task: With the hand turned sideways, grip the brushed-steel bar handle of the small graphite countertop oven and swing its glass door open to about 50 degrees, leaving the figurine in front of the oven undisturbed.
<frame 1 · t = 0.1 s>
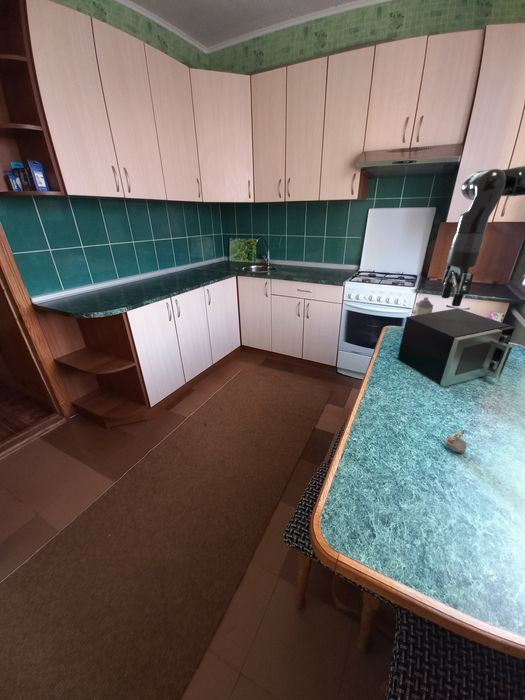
hand: (450, 301, 93), 28 cm above the table, tool pointing down, fingers open, 8 cm apart
oven: (442, 364, 113), on the table
candy bar box: (481, 353, 120), on the table
figurine: (453, 448, 75), on the table
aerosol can: (415, 340, 133), on the table
oven door: (479, 361, 96), point 9 cm above the table, hinge at 0.0°
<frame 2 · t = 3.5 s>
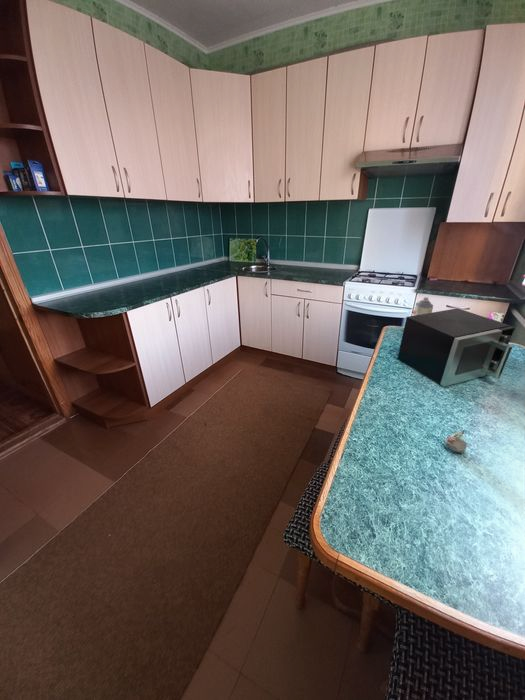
nothing on the table moved.
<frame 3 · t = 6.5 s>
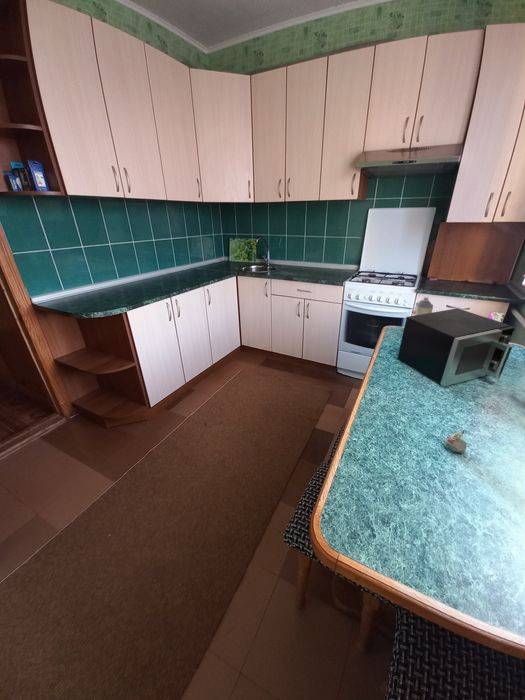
nothing on the table moved.
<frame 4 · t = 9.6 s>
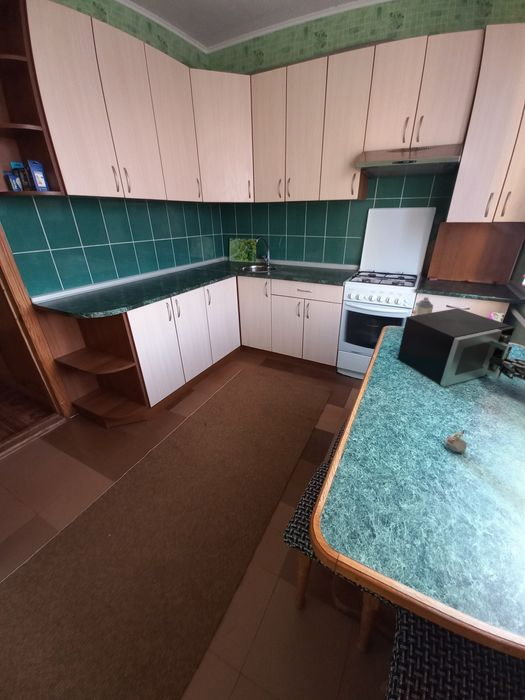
hand: (492, 358, 98), 9 cm above the table, tool horizontal, fingers closed on oven door, 2 cm apart
oven door: (479, 361, 96), point 9 cm above the table, hinge at -0.3°, touching gripper
everything else where it was.
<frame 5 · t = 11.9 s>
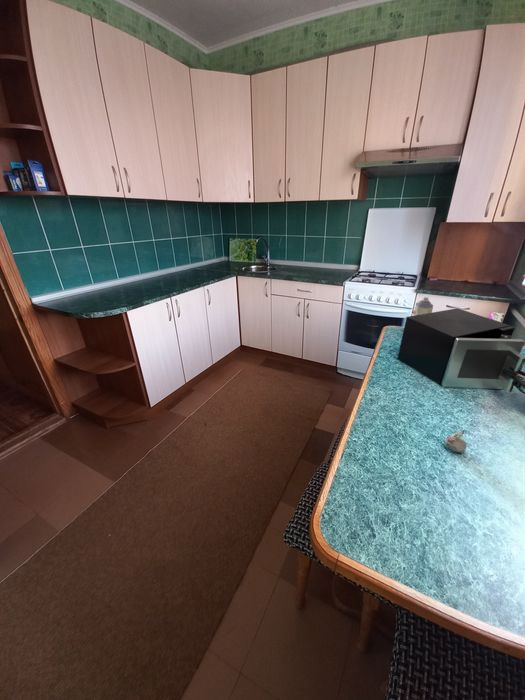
hand: (506, 370, 91), 9 cm above the table, tool horizontal, fingers closed on oven door, 2 cm apart
oven door: (486, 368, 92), point 9 cm above the table, hinge at 25.0°, touching gripper
everything else where it was.
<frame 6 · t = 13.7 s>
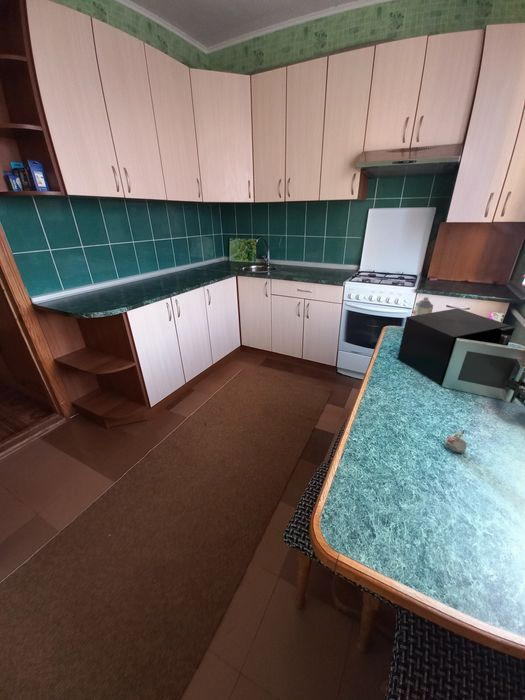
hand: (508, 381, 86), 9 cm above the table, tool horizontal, fingers closed
oven door: (486, 374, 89), point 9 cm above the table, hinge at 47.0°
everything else where it was.
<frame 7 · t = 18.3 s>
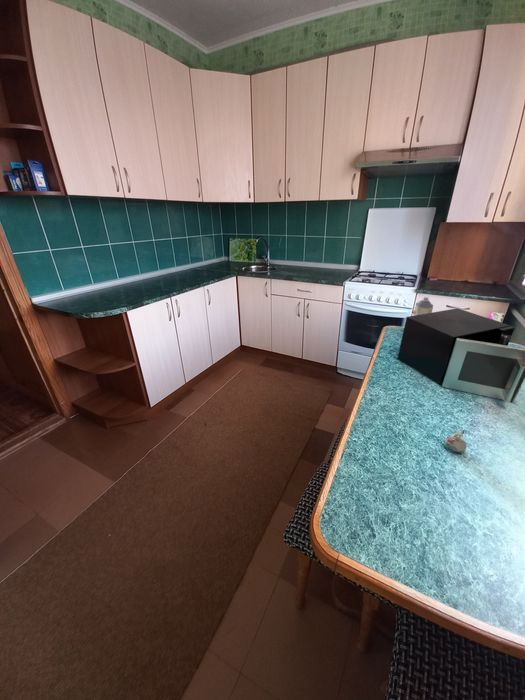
nothing on the table moved.
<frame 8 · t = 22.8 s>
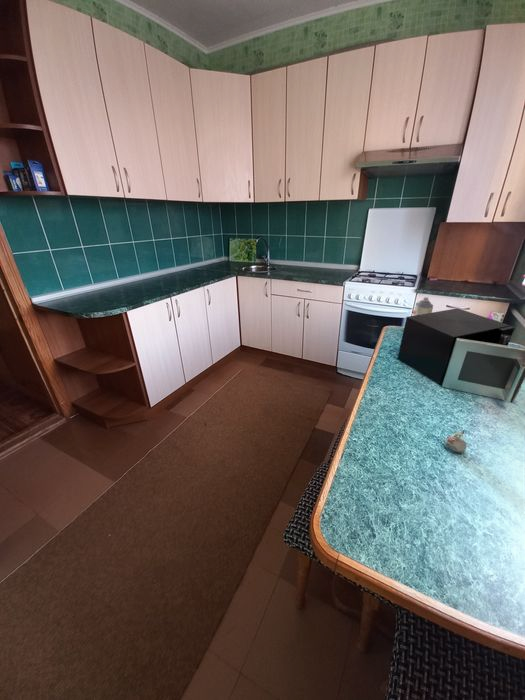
nothing on the table moved.
at the end: oven door at +47° (first picture: +0°); figurine moved 0.2 cm from its start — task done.
